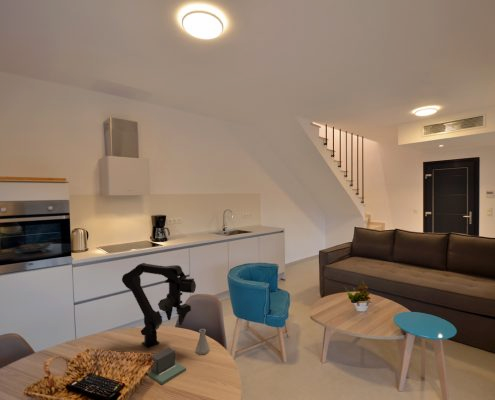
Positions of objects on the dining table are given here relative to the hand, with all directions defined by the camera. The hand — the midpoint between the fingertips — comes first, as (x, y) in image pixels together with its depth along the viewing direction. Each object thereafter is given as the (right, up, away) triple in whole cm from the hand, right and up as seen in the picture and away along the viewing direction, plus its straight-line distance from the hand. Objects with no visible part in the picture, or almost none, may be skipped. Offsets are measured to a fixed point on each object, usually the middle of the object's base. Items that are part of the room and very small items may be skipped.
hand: (174, 322), depth 138 cm
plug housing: (0, -11, -19) cm, 22 cm away
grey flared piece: (+15, -12, -4) cm, 20 cm away
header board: (0, -12, -19) cm, 23 cm away
